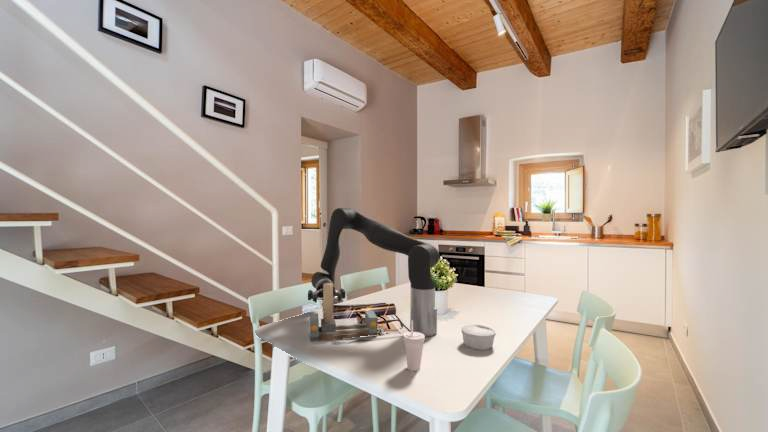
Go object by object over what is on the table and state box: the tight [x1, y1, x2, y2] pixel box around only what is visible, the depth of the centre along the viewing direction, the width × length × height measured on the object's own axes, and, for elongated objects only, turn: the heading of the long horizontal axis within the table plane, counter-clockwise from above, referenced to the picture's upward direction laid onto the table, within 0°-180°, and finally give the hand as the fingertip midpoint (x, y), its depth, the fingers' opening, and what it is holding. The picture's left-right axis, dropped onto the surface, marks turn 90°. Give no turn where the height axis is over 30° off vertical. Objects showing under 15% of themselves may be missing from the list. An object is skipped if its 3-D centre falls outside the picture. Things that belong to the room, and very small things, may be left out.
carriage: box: [320, 283, 337, 332], centre depth 126 cm, size 5×7×16 cm
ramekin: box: [461, 324, 496, 351], centre depth 119 cm, size 11×11×5 cm
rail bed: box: [312, 323, 378, 342], centre depth 128 cm, size 24×9×2 cm, turn 103°
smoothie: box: [402, 320, 426, 372], centre depth 101 cm, size 6×6×14 cm
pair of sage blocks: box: [309, 310, 378, 342], centre depth 127 cm, size 24×9×7 cm, turn 103°
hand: (327, 299), depth 128 cm, fingers open, 8 cm apart
